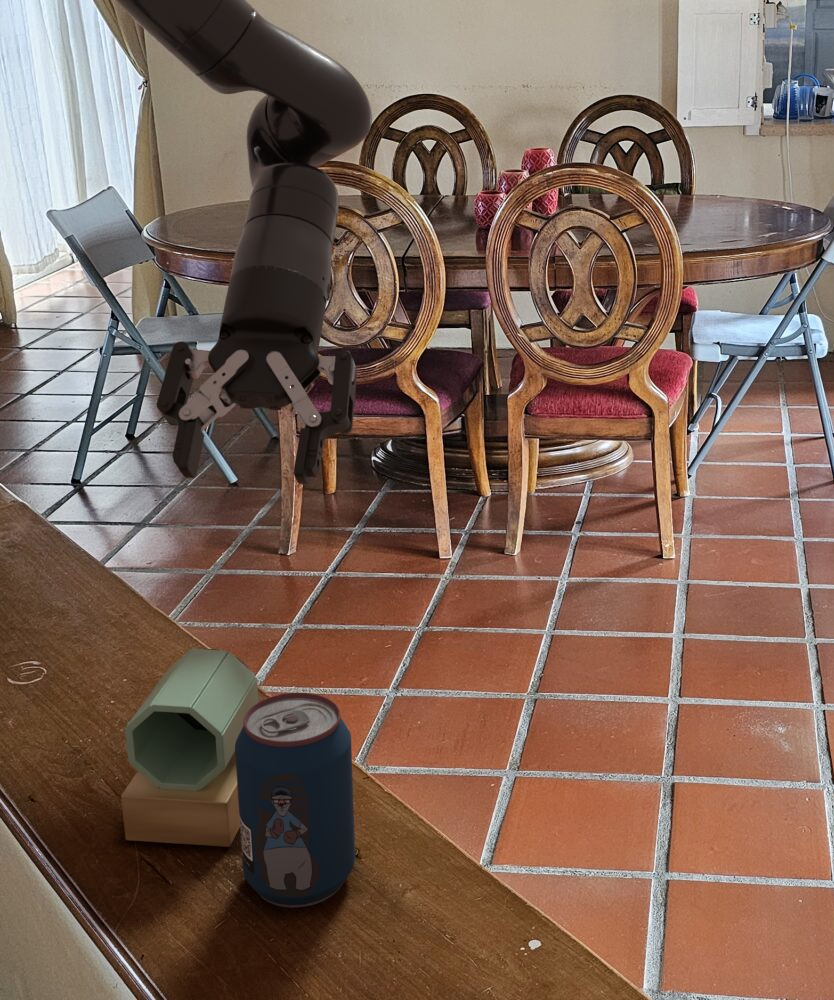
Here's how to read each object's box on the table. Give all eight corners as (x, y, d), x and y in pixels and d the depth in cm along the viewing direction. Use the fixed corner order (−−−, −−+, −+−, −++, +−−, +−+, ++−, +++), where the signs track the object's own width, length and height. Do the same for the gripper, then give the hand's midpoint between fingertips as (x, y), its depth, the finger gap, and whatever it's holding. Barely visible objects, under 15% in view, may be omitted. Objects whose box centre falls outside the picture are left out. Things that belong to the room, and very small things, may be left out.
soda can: (330, 833, 87) (323, 677, 83) (373, 891, 82) (369, 727, 78) (229, 866, 84) (216, 704, 79) (267, 929, 78) (256, 759, 74)
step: (178, 757, 95) (174, 715, 94) (272, 763, 95) (270, 721, 93) (125, 840, 86) (120, 796, 84) (230, 847, 85) (226, 802, 84)
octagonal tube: (173, 723, 93) (166, 643, 90) (262, 728, 92) (257, 649, 90) (130, 787, 85) (121, 702, 83) (226, 793, 85) (220, 709, 83)
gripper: (174, 257, 98) (131, 450, 92) (360, 266, 98) (329, 460, 92) (203, 310, 105) (164, 492, 99) (377, 318, 105) (349, 502, 98)
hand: (244, 477), depth 95 cm, fingers open, 8 cm apart
